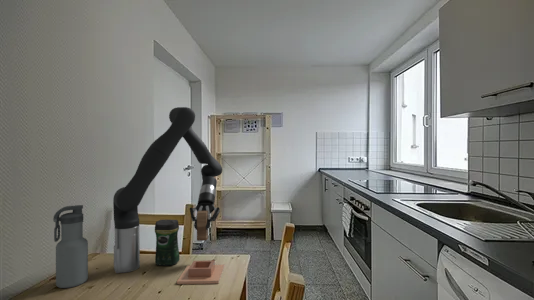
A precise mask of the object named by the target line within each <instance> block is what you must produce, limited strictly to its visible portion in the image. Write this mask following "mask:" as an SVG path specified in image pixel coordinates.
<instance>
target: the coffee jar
mask: <svg viewBox="0 0 534 300" xmlns="http://www.w3.org/2000/svg"><path fill="white" fill-rule="evenodd" d="M179 225H180V224H179V221H178V219H160V220H157V221H155V224H154V233H155V237H156V238H155V239H156V240H155V257H154V263H155V265H156V266H173V265H177V264H178V263H179V262H180V251H179V248H180V247H179V240H178V238H179V237H178V236H179V235H178V232H179V229H180V226H179Z"/></svg>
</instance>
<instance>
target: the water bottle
mask: <svg viewBox="0 0 534 300" xmlns="http://www.w3.org/2000/svg"><path fill="white" fill-rule="evenodd" d="M83 209H84V205H83V204H78V205H77V204H75V205H67V206H63V207H61V208H60V209H58V210H56V212H55V213H54V215H53V219H52V220H53V222H54V223H55V225H54V226H55V227H54V229H53V241H54V242H55V243H56V246H55V285H56V287H58V288H60V289H70V288H74V287H77V286H81V285H82V284H84V283H86V282H87V281H88V278H89V241H88V240H87V239H86V238H85V237H84V234H83V233H84V230H83V229H84V227H83V226H84V225H83V224H84V223H83V222H84V213H83ZM66 211H67V212H68V211H70V212H68V213H67V212H66ZM63 212H64V213H63ZM65 212H66V213H65ZM62 213H63V214H62ZM61 214H62V215H61ZM60 239H61V240H60ZM57 242H58V243H57Z"/></svg>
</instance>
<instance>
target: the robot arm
mask: <svg viewBox="0 0 534 300" xmlns="http://www.w3.org/2000/svg"><path fill="white" fill-rule="evenodd" d="M168 118H169V121H170V123H171V124H170V126H169V127H168V129H167V130H166V131H165V132H163V134H161V135H160V136H158V138H156V139H155V140H154V141H153V142H152V143H151V144H150V146H149V147H148V148H147V150H146V151H145V153H144V154H143V156H142V157H141V160H140V162H139V164H138V166H137V168H136V171H135V174H134V175H133V176H132V178H131V179H130V180H129V181H128V183H127V184H126V185H125V186H122V187H121V188H119V189H118V190H116V192H115V193H114V195H113V200H112V201H113V205H112V206H113V210H112V211H113V222H114V245H113V270H114V272H115V273H116V274H119V273H122V274H123V273H129V272H133V271H136V270H138V269H139V268H140V267H141V265H140V264H141V261H140V260H141V255H140V254H141V253H140V248H141V247H140V217H139V212H138V211H139V209H138V206H139V205H140V204H141V202H142V200H143V198H144V196H145V194H146V192H147V190H148V188H149V187H150V185H151V183H152V182H153V181H154V180H155V178H156V177H157V175H158V173H160V171H161V170H162V169H163V167H164V166H165V164H166V163H167V162H168V160H169V158H170V156H171V155H172V153H173V152H174V150H175V149H176V147H177V146H178V144H179V142H180V141H181V139H182V138H183V139H184V141H185V142H186V143H187V145H188V147H189V148H190V149H191V152H192V153H193V155H194V156H195V158H196V160H197V162H198V163H199V164H201V165H202V164H203V166H202V167H201V169H200V173H201V181H202V182H201V187H200V190H199V194H198V200H197V204H196V206H195V207H189V212H190V214H189V215H190V217H191V221H192V222H194V224H193V227H194V229H195V231H197V215H196V216H195V213H197V212H198V211H208V220H207V224H206V230H208V231H209V229H210V228H211V222H216V220H217V218H218V217H219V214H220V212H221V210H220V209H221V208H220V207H215V202H216V196H217V195H216V193H217V183H218V182H217V179H216V178H215V177H219V176H221V174H223V167H222V165H221V164H220V162H219V161H218V160H217V159H216V158H215V157H214V156H213V155H212V154H211V152H210V150H209V149H208V147H207V145H206V144H205V142H204V141H203V139H201V137H199V136H198V134H197V133H196V132H195V131H194V129H193V128H192V126H193V125H194V123H195V120H196V113H195V111H194V110H193V108H192V107H191V108H190V107H187V106H180V107H174V108H171V110H170V111H169V115H168ZM213 212H214V213H213ZM212 213H213V214H212ZM211 214H212V216H211Z"/></svg>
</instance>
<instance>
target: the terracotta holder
mask: <svg viewBox="0 0 534 300" xmlns="http://www.w3.org/2000/svg"><path fill="white" fill-rule="evenodd" d="M224 270H225V264H216V260H215V259H214V260H210V259H209V260H193V261H192V263H191V264H190V265H189V264H188V265H186V267H185V269H184V270H183V272H182V273H181V274H180V276H179V278H177V280H176V285H201V284H202V285H203V284H205V285H209V284H220V281H221V278H222V275H223V272H224Z"/></svg>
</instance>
